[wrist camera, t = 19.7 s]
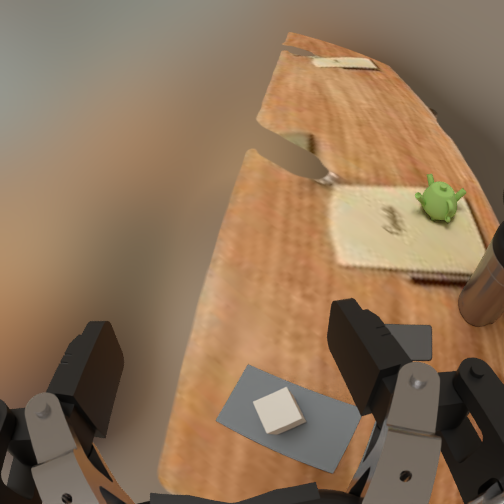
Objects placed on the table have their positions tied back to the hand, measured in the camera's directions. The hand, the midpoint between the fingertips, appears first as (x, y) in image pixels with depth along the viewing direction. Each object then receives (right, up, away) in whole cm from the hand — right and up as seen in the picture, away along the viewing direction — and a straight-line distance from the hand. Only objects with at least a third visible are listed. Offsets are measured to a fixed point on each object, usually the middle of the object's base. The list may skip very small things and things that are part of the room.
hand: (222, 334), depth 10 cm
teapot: (+46, +13, +49) cm, 69 cm away
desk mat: (+7, -25, +31) cm, 40 cm away
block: (+4, -18, +23) cm, 30 cm away
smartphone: (+26, -13, +35) cm, 45 cm away
